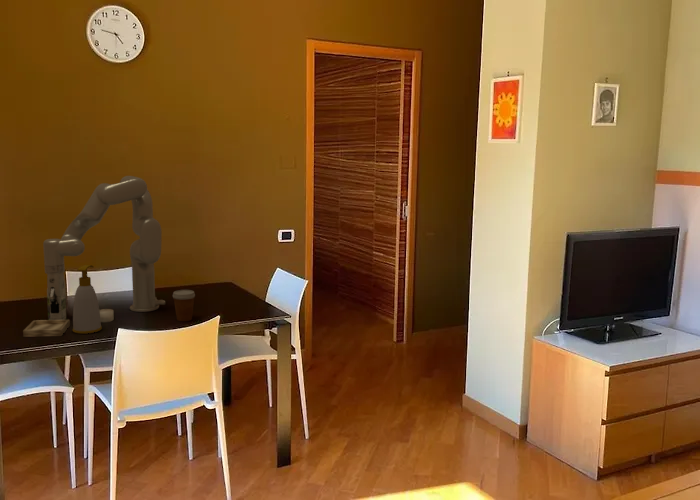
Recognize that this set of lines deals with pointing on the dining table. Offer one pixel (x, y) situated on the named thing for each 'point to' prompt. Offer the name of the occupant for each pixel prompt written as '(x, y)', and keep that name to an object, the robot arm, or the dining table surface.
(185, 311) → the disposable coffee cup
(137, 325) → the dining table surface
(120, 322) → the dining table surface
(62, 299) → the syrup box
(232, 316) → the dining table surface
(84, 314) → the soap bottle
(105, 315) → the cream dome
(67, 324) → the tray
